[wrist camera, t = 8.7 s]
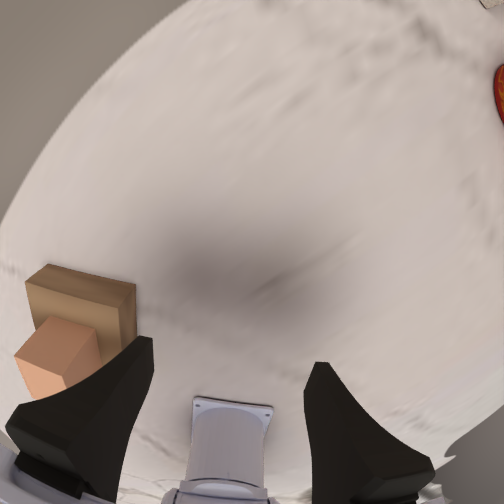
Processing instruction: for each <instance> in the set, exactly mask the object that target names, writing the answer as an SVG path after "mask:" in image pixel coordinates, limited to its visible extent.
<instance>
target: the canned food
mask: <svg viewBox="0 0 504 504" xmlns="http://www.w3.org/2000/svg"><path fill="white" fill-rule="evenodd" d="M494 89H495V98H496V103H497V107H498V110H499V113H500V116H501V118H502V120H503V122H504V65H503V66H501V67H500V68H499V69H498V71H497V73H496V77H495V85H494Z"/></svg>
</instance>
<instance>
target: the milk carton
mask: <svg viewBox="0 0 504 504" xmlns="http://www.w3.org/2000/svg"><path fill="white" fill-rule="evenodd" d="M480 1H481V2H482V4H483V5H484V6H485V8H491V7H493V6H496V5H499V4H502V3H504V0H480Z"/></svg>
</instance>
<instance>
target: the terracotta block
mask: <svg viewBox="0 0 504 504" xmlns="http://www.w3.org/2000/svg"><path fill="white" fill-rule="evenodd" d="M14 358H15V360H16V363H17V365H18V368H19V370H20V372H21V375H22V377H23V379H24V381H25V383H26V386H27V388H28V390H29V392H30V394H31V396H32V398H34V399H36V400H39V399H42V398H45V397H48V396H51V395H54V394H56V393H59V392H61V391H63V390H65V389H67V388H69V387H71V386H73V385H75V384H77V383H79V382H80V381H82V380H84V379H85V378H87V377H89V376H90V375H92V374H93V373H94V372H96V371H97V370H99V369H100V368H101V367H102V362H101V358H100V353H99V348H98V342H97V337H96V331H95V329H94V328H90V327H86V326H83V325H79V324H76V323H72V322H69V321H66V320H63V319H59V318H56V317H53V316H49V317H48V318H47V319H46V320H45V322H44V323H43V324H42V325H41V326H40V327H39V328H38V329H37V330H36V331H35V332H34V333H33V335H32V336H31V337H30V338H29V339H28V340H27V341H26V342H25V343H24V345H23V346H22V347H21V348H20V349H19V350H18V352H17V353H16V354H15V355H14Z"/></svg>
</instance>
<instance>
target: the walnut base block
mask: <svg viewBox="0 0 504 504" xmlns="http://www.w3.org/2000/svg"><path fill="white" fill-rule="evenodd" d="M25 285H26V291H27V296H28V300H29V305H30V309H31V314H32V318H33V322H34V326H35V329H36V330H37V329H38V328H39V327H40V326H41V325H42V324H43V323H44V322H45V320H46V319H47V318H48V317H49V316H53V317H56V318H59V319H63V320H66V321H69V322H72V323H76V324H79V325H83V326H86V327H90V328H94V329H95V331H96V337H97V342H98V348H99V353H100V358H101V362H102V367H103V366H104V365H105V364H107V363H108V362H109V361H110V360H112V359H113V358H114V357H115V356H116V355H118V354H119V353H120V352H121V351H122V350H123V349H124V348H126V347H127V346H128V345H129V344H130V343H131V342H132V341H133V340H134V339H135V338H137V322H136V284H131V283H126V282H122V281H117V280H113V279H109V278H104V277H100V276H96V275H91V274H87V273H83V272H79V271H75V270H71V269H67V268H63V267H59V266H55V265H51V264H47V265H46V266H44V267H43V268H42V269H40V270H39V271H38V272H36V273H35V274H34V275H33V276H31V277H30V278H29V279H28V280H26V281H25Z"/></svg>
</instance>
